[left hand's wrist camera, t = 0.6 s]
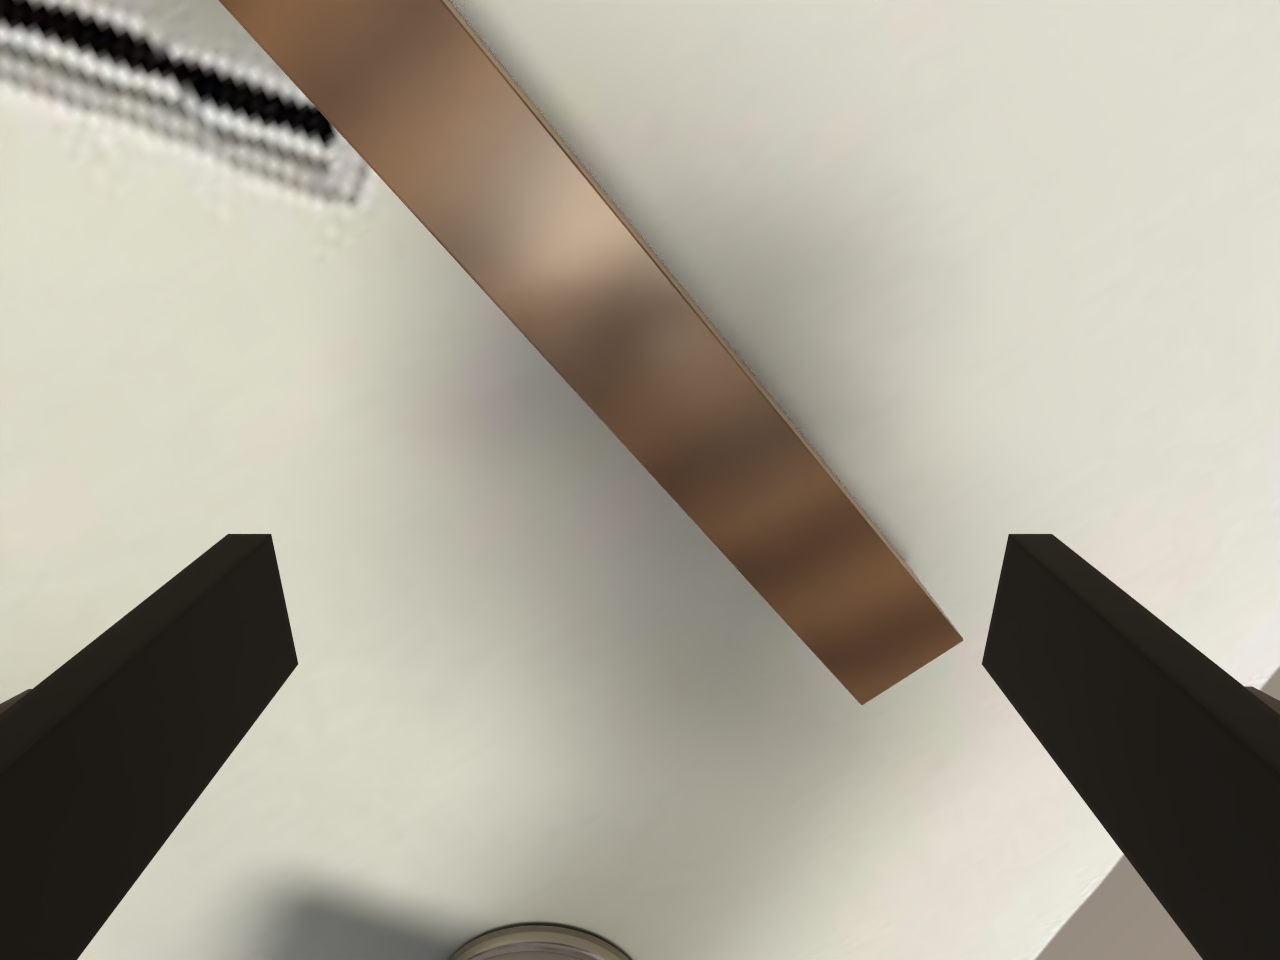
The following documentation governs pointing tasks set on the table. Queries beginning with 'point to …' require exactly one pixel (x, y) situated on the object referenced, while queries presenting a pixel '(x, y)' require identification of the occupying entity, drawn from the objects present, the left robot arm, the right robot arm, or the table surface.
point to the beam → (605, 316)
